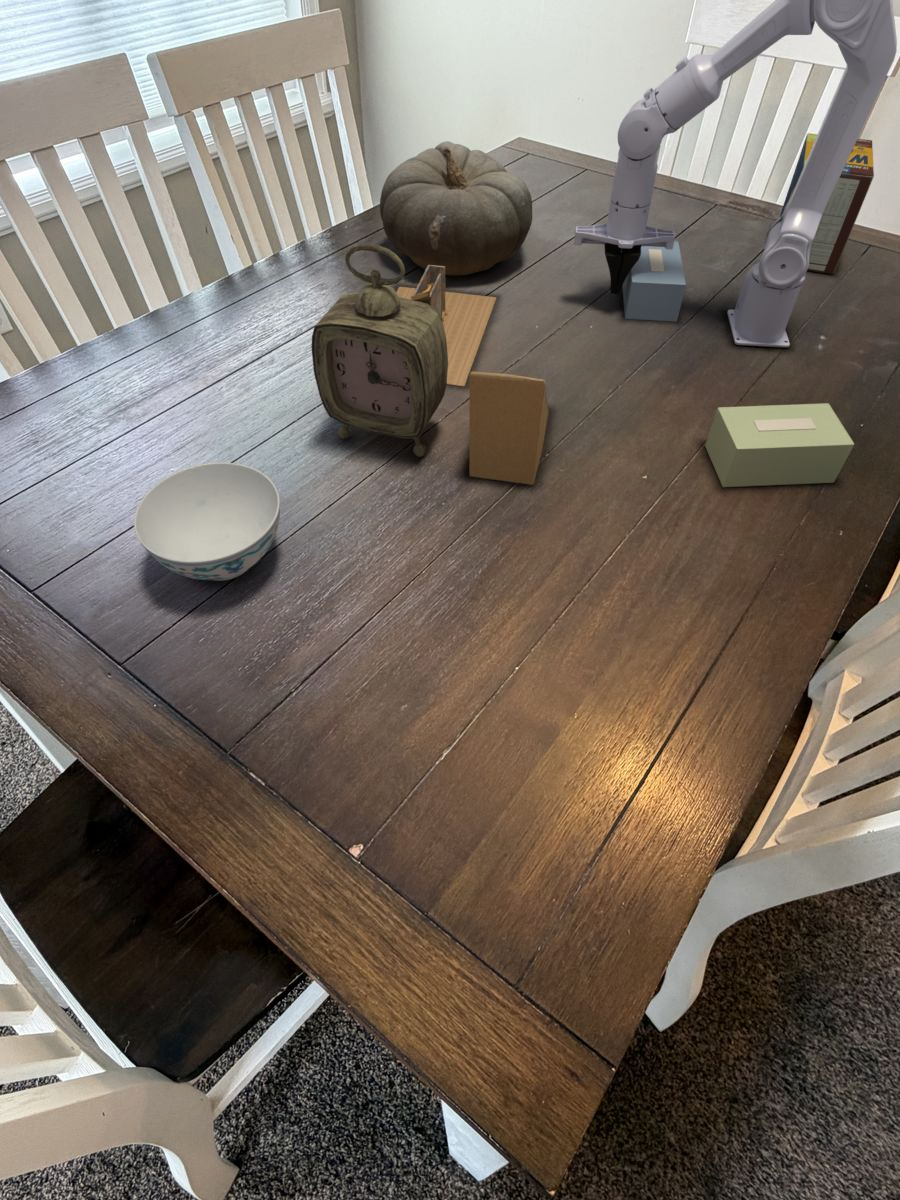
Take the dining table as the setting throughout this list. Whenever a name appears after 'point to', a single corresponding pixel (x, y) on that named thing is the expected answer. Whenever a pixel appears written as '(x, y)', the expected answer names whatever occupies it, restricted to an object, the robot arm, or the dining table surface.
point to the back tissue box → (655, 285)
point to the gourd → (455, 209)
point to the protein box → (837, 204)
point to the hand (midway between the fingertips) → (614, 290)
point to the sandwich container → (506, 426)
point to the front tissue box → (777, 445)
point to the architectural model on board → (434, 288)
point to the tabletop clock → (380, 358)
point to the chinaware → (209, 520)
